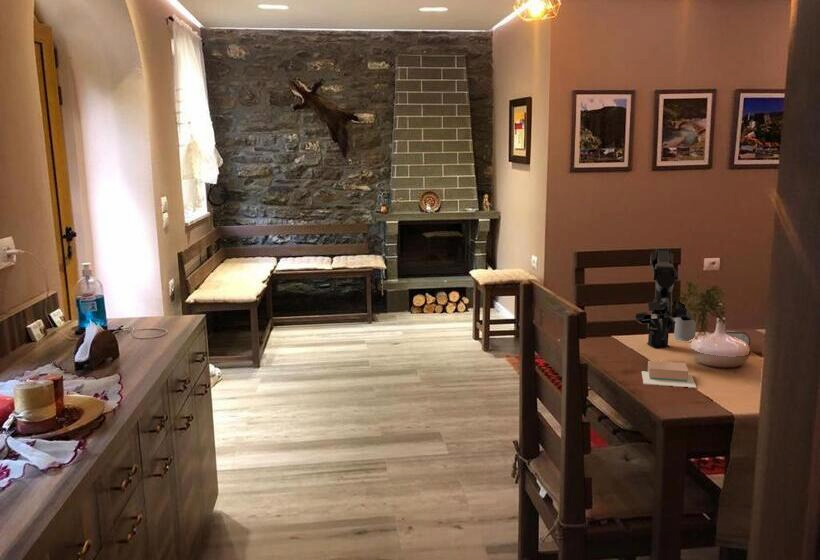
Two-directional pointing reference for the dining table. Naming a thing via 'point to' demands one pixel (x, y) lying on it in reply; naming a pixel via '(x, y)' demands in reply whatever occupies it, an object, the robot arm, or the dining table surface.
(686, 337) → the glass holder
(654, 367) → the tile
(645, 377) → the mat
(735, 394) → the dining table surface
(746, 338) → the tin
